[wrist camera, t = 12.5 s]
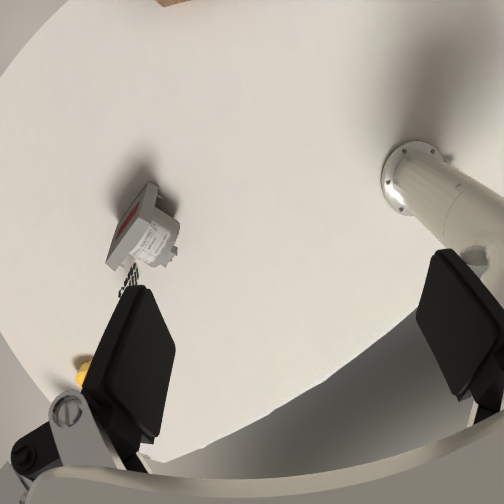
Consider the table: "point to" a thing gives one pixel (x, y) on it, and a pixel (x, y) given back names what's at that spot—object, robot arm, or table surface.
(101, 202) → the table surface
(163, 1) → the walnut block
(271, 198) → the table surface
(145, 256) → the voltmeter
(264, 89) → the table surface
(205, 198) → the table surface
